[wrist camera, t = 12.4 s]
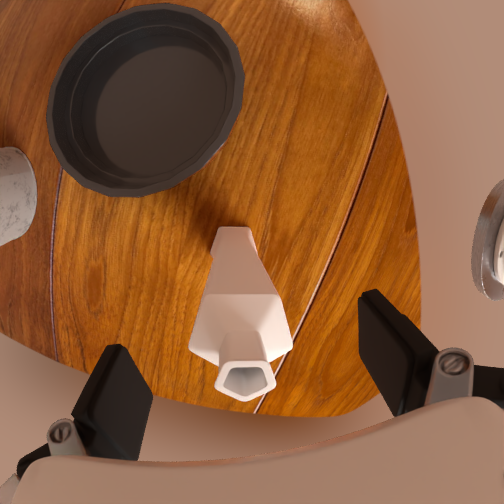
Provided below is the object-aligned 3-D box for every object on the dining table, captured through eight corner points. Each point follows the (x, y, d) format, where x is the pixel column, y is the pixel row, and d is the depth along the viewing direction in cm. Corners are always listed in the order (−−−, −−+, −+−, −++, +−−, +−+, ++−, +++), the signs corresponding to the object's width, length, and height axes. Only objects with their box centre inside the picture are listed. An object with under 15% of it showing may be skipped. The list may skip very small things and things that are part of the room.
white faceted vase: (240, 207, 22) (265, 298, 8) (270, 250, 23) (328, 380, 9) (194, 239, 23) (149, 366, 8) (225, 280, 24) (227, 428, 10)
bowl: (220, 10, 16) (220, -17, 12) (258, 164, 21) (265, 165, 17) (67, 65, 16) (41, 52, 12) (94, 210, 21) (68, 222, 17)
